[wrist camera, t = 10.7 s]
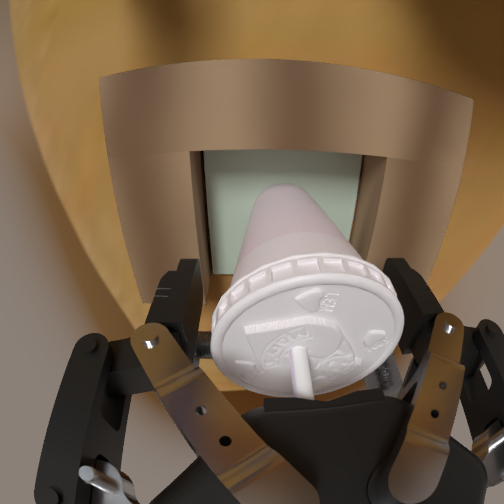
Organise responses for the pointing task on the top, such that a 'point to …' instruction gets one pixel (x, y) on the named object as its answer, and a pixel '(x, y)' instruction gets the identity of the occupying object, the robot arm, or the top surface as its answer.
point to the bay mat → (268, 174)
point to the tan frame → (280, 138)
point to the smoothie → (302, 304)
